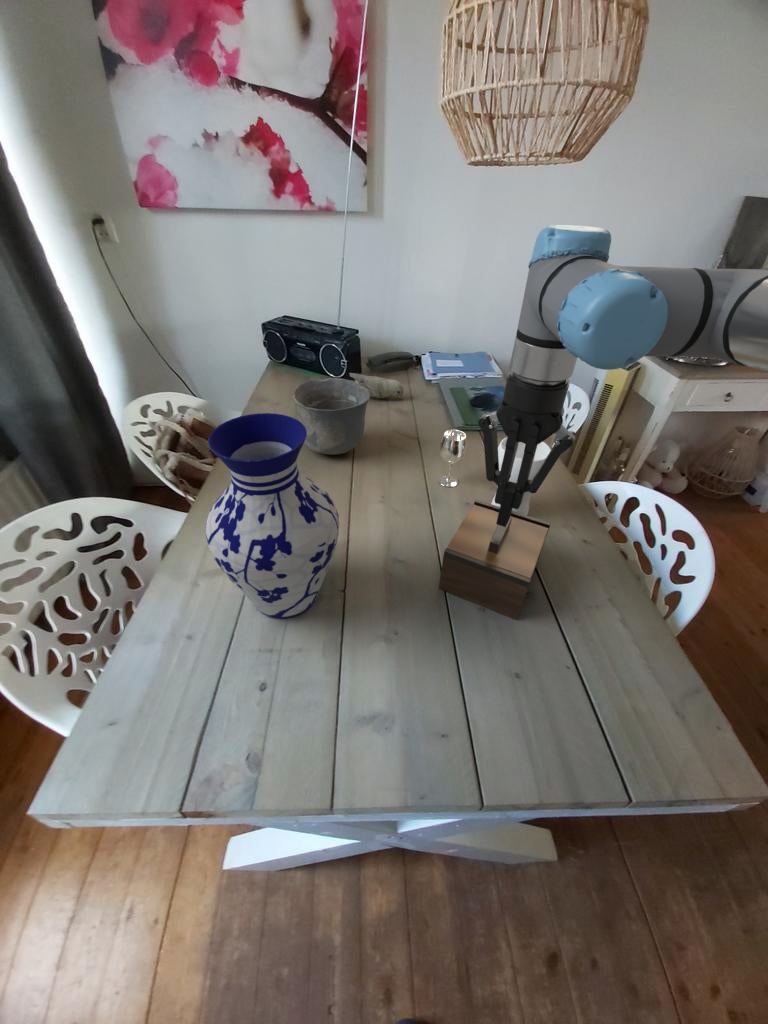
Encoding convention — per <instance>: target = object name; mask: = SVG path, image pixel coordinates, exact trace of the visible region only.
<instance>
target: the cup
mask: <svg viewBox="0 0 768 1024" xmlns="http://www.w3.org/2000/svg"><path fill="white" fill-rule="evenodd" d="M506 441H507V436H506V437H504V438H503V439H502V440H501V441H500V442H499V443H498V459H499V471H501V466H502V462H503V457H504V453H505V449H506V447H505V446H506ZM525 445H526V444H524V443H522V442H519V443H518V447H517V451H516V455H515V459H514V464H513V468H512V472H511V477H510V479H509V481H510V482H514V483H517V479H518V475H519V471H520V467H521V463H522V459H523V455H524V449H525ZM551 449H552V448H550V446H549V445H548V444H547V443H546V442H544V441H543V442H541V443H540V444H538V445H537V449H536V452H535V456H534V460H533V463H532V467H531V471H530V475H529V478H528V480H533V478H534V477H535V475H536V473H537V472H538V470H539V469H540V467H541V465H542V464H543V462H544V461H545V459H546V457H547V456H548V454H549V453H550V451H551ZM547 476H548V475H547ZM547 476H546V478H547ZM546 478H545V479H544V481H545V480H546ZM532 495H533V493H530V492H524V495H523V499H522V503H521V505H520V507H519V508H518V509H514V508H512V511H514V512H517V513H521V514H524V515H527V516H528V515H529V512H530V511H529V510H530V501H531V497H532ZM495 496H496V493H495V494H494V496H493V498H492V501H491V503H490V504H492V505H495V506H498V507H500V506H501V505H500V504H497V503H495Z"/></svg>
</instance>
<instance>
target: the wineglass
mask: <svg viewBox="0 0 768 1024" xmlns="http://www.w3.org/2000/svg"><path fill="white" fill-rule="evenodd" d="M467 441H468V440H467V435H466V433H465V432H463V431H461V430H458V429H448V430H445V431H444V432H443V434H442V437H441V440H440V443H439V450H438V451H439V455H440V458H441V459H442V460H443V461H445V462H447V463H448V465H447V466H448V474H447V475H441V476H440V477H439V478H438V483H439V485H441V486H442V487H445V488H455V487H456V486H458V484H459V480H458V479H457V478H456V477H455V476H452V475H451V471H452V469H453V467H454V464H456V463H459V462H461V461H462V460H463V459H464V458H465V456H466V453H467V450H468V449H467V446H468V445H467V444H468V443H467Z"/></svg>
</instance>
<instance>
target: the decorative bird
mask: <svg viewBox="0 0 768 1024" xmlns="http://www.w3.org/2000/svg"><path fill="white" fill-rule="evenodd" d="M349 377H350V378H352V379H354V382H356V383H359V387H361V386H362V387H365V389H367V390H368V391H369V393H370V398H376V399H385V398H389V397H391V396H393V397H397V398H398V399H400V400H403V398H404V387H403V385H402V383H401V382H399V381H398V380H396V379H391V378H389V379H388V378H384V377H380V376H374V375H365V374H361V373H355V372H349Z"/></svg>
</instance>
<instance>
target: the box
mask: <svg viewBox="0 0 768 1024" xmlns="http://www.w3.org/2000/svg"><path fill="white" fill-rule="evenodd" d="M473 504H474V505H477V506H481V507H484V508H487V509H490V510H493V511H496V512H499V510H500V507H498V506H495V505H492V504H491V503H490V502H485V501H482V500H479V499H474V501H473ZM511 516H512V517H515V518H518V519H521V520H524V521H527V522H531V523H534V524H537V525H540V526H543V527H546V528H549V529H550V527H551V525H552V524H551V522H549V521H545V520H542V519H541V518H540V519H539V518H537V517H533V516H530V515H528V514H527V515H524V514H521V513H517V512H514V511H512V512H511ZM547 536H548V534H547V535H546V538H545V541H544V544H543V546H542V549H541V552H540V555H539V558H538V560H537V563H536V566H535V569H534V572H533V574H532V577H531V579H529V578H526V577H523V576H520V575H518V574H515V573H512V572H509V571H507V570H504V569H501V568H498V567H496V566H493V565H490V564H487V563H485V562H482V561H479V560H476V559H474V558H471V557H468V556H466V555H463V554H460V553H457V552H455V551H452V550H449V549H447V548H444V551H443V556H442V563H441V569H440V576H439V583H438V590H440V591H443V592H446V593H448V594H451V595H452V596H456V597H458V598H461V599H463V600H466V601H468V602H470V603H473V604H475V605H478V606H480V607H483V608H485V609H487V610H490V611H493V612H495V613H498V614H500V615H503V616H505V617H508V618H510V619H513V620H515V621H518V617H519V615H520V613H521V609H522V606H523V603H524V601H525V598H526V595H527V592H528V589H529V587H530V584H531V581H532V578H533V576H534V573H535V570H536V567H537V565H538V561H539V559H540V556H541V553H542V550H543V548H544V545H545V542H546V539H547Z"/></svg>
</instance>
